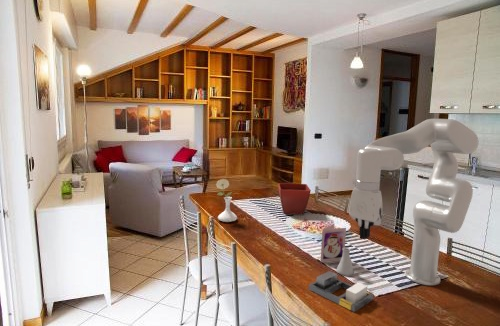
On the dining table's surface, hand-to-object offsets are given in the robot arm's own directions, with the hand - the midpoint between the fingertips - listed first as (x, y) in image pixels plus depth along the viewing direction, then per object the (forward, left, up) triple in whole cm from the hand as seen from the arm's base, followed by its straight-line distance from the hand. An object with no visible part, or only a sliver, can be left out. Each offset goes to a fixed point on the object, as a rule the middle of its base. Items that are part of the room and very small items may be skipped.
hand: (364, 237), depth 119 cm
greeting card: (-21, -27, -23) cm, 41 cm away
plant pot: (-64, -86, -23) cm, 110 cm away
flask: (-15, -15, -23) cm, 31 cm away
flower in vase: (-18, -98, -23) cm, 103 cm away
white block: (+1, 0, -23) cm, 23 cm away
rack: (+2, -6, -23) cm, 24 cm away
